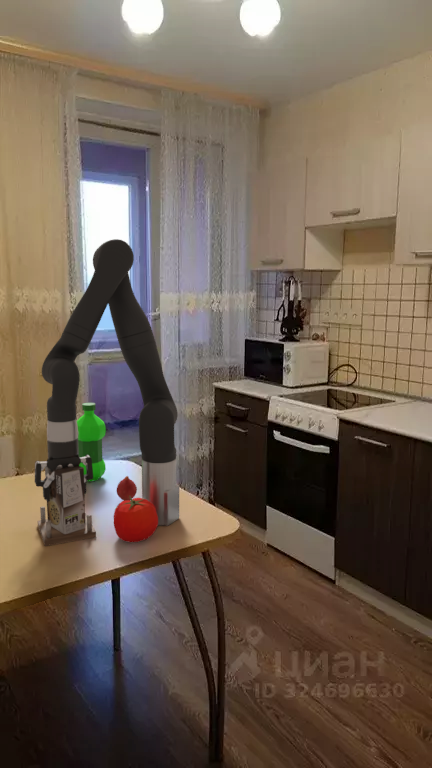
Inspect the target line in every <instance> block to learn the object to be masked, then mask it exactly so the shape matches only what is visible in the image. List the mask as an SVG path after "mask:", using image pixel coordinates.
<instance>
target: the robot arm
mask: <svg viewBox="0 0 432 768" xmlns="http://www.w3.org/2000/svg"><path fill="white" fill-rule="evenodd" d="M134 260H135V257H134V252H133V249H132V248H131V245H130V244H128V242H126V241H125V240H122V239H119V238H112V239H109V240H107V241H104V242H103V243H101V245H99V246H98V247H97V248H96V249H95V251H94V254H93V257H92V266H93V269H94V272H93V275H92V277H91V279H90V281H89V285H88V286H87V287H86V289H85V292H84V293H83V295H82V296H81V298H80V300H79V302H77V305H76V306H75V308H74V309H73V311H72V313H71V315H70V317H69V318H68V321H67V322H66V325H65V327H64V329H63V331H62V332H61V333H62V334H61V336H60V338H59V339H58V341H56V343H55V344H54V346H53V347H52V348H51V350H50V351H49V353H48V354H47V355H46V357H45V359H44V360H43V362H42V366H41V376H42V378H43V380H44V381H45V382H47V383H48V384H51V385H52V386H51V387H52V390H51V395H50V396H49V398H48V399H47V400H46V415H47V417H46V418H47V420H46V421H47V423H46V440H47V445H46V447H47V459H46V461H39V460H36V461H35V462H34V484H35V485H36V487H38V488H39V487H40V488H41V487H42V497H43V499H44V500H45V501H46V503H47V502H49V501H50V489H49V485H50V483H51V482H52V481H53V480H54V471H53V470H61V469H62V468H66V467H68V468H73V467H74V466H79V465H80V463H81V462H83V464H84V465H86V473H87V474H86V475H84V493H85V495H86V493H87V482H89V481H88V480H91V479H93V468H92V459H91V457H90V456H89V455H86V456H85V457H79V449H78V426H77V420H78V419H77V404H76V402H77V397H78V395H79V394H78V392H79V387H80V380H81V379H80V371H79V368H78V365H77V364H76V362H75V361H76V359H77V357H78V356H79V355H82V354H85V352H86V351H87V349H88V347H89V346H90V344H91V342H92V340H93V337H94V335H95V333H96V331H97V329H98V327H99V325H100V322H101V320H102V318H103V315H104V314H105V310H106V309H107V306H108V307H109V312H110V317H111V321H112V323H113V326H114V327H113V328H114V330H115V334H116V338H117V342H118V345H119V347H120V351H121V355H122V357H123V359H124V361H125V363H126V365H127V366H128V368H129V370H130V372H131V373H132V375H133V377H134V379H135V380H136V382H137V384H138V388H139V391H140V394H141V398H142V404H143V407H142V409H141V411H140V412H139V417H138V432H139V434H138V437H139V438H138V439H139V450H140V453H141V497H142V499H146V500H148V501H149V502H151V503H152V504H153V505H154V506H155V508H156V513H157V516H158V525H157V526H167V527H168V526H170V525H171V524H173V523H174V522H176V521H177V520H178V519H180V485H179V484H177V448H176V447H175V446H176V445H175V424H176V422H177V420H178V415H179V414H178V409H177V405H176V404H175V401H174V399H173V396H172V394H171V391H170V389H169V387H168V386H169V385H168V384H167V382H166V379H165V375H164V372H163V367H162V366H163V365H162V362H161V358H160V354H159V350H158V347H157V343H156V339H155V336H154V332H153V330H152V326H151V324H150V322H149V319H148V317H147V315H146V313H145V311H144V310H143V308H142V307H141V305H140V303H139V302H138V300H137V298H136V296H135V293H134V290H133V288H132V287H133V286H132V283H131V279H130V274H129V272H130V270H131V269H132V267H133V265H134ZM45 466H47V467H48V468H49V469H50V470H51V471H52V474H51V475H50V474H49V473H47V476H46V477H45V476H44V479H43V480H42V472H43V471H45Z"/></svg>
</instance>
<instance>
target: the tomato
mask: <svg viewBox="0 0 432 768" xmlns="http://www.w3.org/2000/svg"><path fill="white" fill-rule="evenodd" d="M129 497H130V496H129ZM113 512H114V513H113V526H114V530H115V533H116V535H117V537H118V538H119V539H120V540H122V542H127V543H138V542H143V541H145V540H148V539H149V538H150V537H152V536H153V534H154V533H155V532H156V530H157V528H158V526H159V525H158V516H157V513H156V508H155V506H154V505H153V504H152V503H151V502H149V501H148V500H146V499H142V498H141V497H133V498H131V497H130V500H128V501H124V500H121V502H119V503H118V505H117V506H116V508H115V509H114V511H113Z"/></svg>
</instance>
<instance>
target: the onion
mask: <svg viewBox="0 0 432 768" xmlns="http://www.w3.org/2000/svg"><path fill="white" fill-rule="evenodd" d="M137 491H138V487H137V485H136V483H135V482H134V481H133V480H132V479H130V478H129V476H128V475H127V476H125V477H124V478H123V479H121V480H120V481H119V483H118V484H117V487H116V494H117V496H118V498H119V499H121V501H128V500H130V497H131V498H132V499H133V498H135V496H136V494H137ZM129 496H130V497H129Z"/></svg>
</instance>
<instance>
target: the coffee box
mask: <svg viewBox="0 0 432 768" xmlns="http://www.w3.org/2000/svg"><path fill="white" fill-rule="evenodd" d="M53 471H54V480H53V481H52V482H51V483H50V485H49V489H50V501H49V502H47V501H46V512H47V513H46V514H47V519H48V521H51V526H52V527H53V528H55V529H56V530H58V531H60V532H61V533H63V534H68V533H71V532H75V531H78V530H81V529H85V528H86V524H85V513H86V502H85V501H86V499H85V495H86V494H85V493H84V468H83V467H80V466H74V467H73V468H68V467H66V468H62V469H61V470H53ZM47 473H49V474H50V475H51V474H52V471H51V470H50V469H49V468H48V467H47V466H45V467H44V475H45V476H44V478H45V477H46V476H47Z"/></svg>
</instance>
